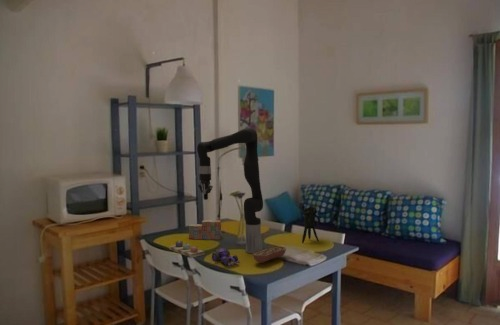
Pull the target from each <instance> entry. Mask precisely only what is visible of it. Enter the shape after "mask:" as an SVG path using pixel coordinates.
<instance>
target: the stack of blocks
mask: <svg viewBox="0 0 500 325" xmlns="http://www.w3.org/2000/svg"><path fill="white" fill-rule="evenodd" d="M221 221H222V220H221V219H218V220H217V219H203V220H202V221H201V224H200V223H199V224H198V223H196V224H194V223H190V224H189V226H188V240H213V241H215V240H216V241H217V240H221V238H222V222H221Z"/></svg>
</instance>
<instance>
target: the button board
mask: <svg viewBox="0 0 500 325" xmlns="http://www.w3.org/2000/svg"><path fill="white" fill-rule="evenodd" d="M169 250H170V251H173V252H175V253H178V254H180V255H183V256H185V257H188V258H190V257H189V256H191V257H193V258H196V257H201V256H204V255H205V251H204V250H203V249H199V248H198V251H197V252H190V249H183V246H181V247H176V244H174V245H171V246H169Z"/></svg>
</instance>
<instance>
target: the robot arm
mask: <svg viewBox="0 0 500 325" xmlns="http://www.w3.org/2000/svg"><path fill="white" fill-rule="evenodd" d="M236 144H237V145H238V144H245V151H246V152H245V157H244V158H245V159H244V161H243V175H244V179H245V181H246V182H247V184H248V185H249V188H250V190H251V197H246V199H245V200H244V201H243V215H244V216H243V218H244V221H245V252H246V253H248V254H253V253H254V252H256V251H259V250H262V249H263V236H262V232H261V231H262V230H261V229H262V228H261V224H262V223H261V222H262V221H261V218H259V217H257V216H256V215H257V214H256V213H258V212H261V211H262V210H263V209H264V199H263V193H262V188H261V187H262V186H261V179H260V167H259V156H258V154H259V153H258V134H257V131H256V130H255V129H254V128H243V129H241V130H239V131H237V132H234V133H232V134H228V135H226V136H225V135H224V136H221V137H218V138H214V139H212V140H209V141H200V142H199V143H198V144H197V146H196V149H197V150H196V151H197V157H198V159H199V168H198V173H199V176H198V177H199V181H200V184H198V188H199V190H200V192H201V193H202V194H203V196H202V197H203V200H204V201H206V200H208V199H209V194H210V193H211V191H212V189H213V187H214V186H213V185H211V180H212V166H211V165H212V164H211V157H210V156H208V153H211V152H215V151H219V150H221V149H226V148H228V147H230V146H233V145H236Z"/></svg>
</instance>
